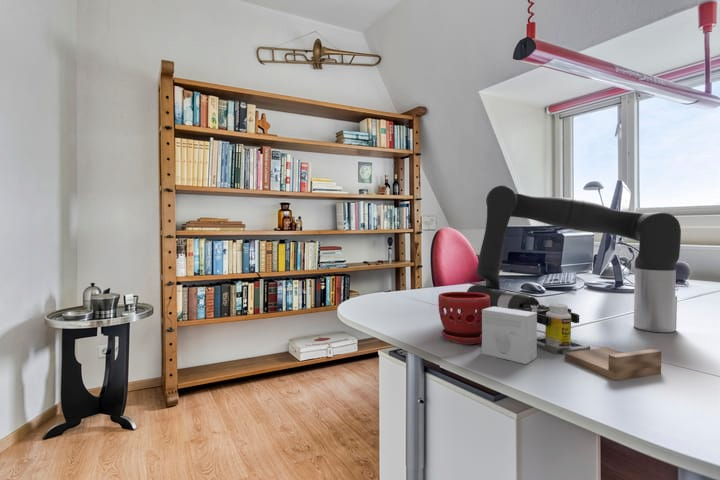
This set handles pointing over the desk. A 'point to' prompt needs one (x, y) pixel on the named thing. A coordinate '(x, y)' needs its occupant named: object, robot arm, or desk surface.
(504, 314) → the skincare box
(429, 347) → the desk surface
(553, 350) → the socket collar
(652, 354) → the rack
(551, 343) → the supplement bottle
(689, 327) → the desk surface
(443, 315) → the plant pot
